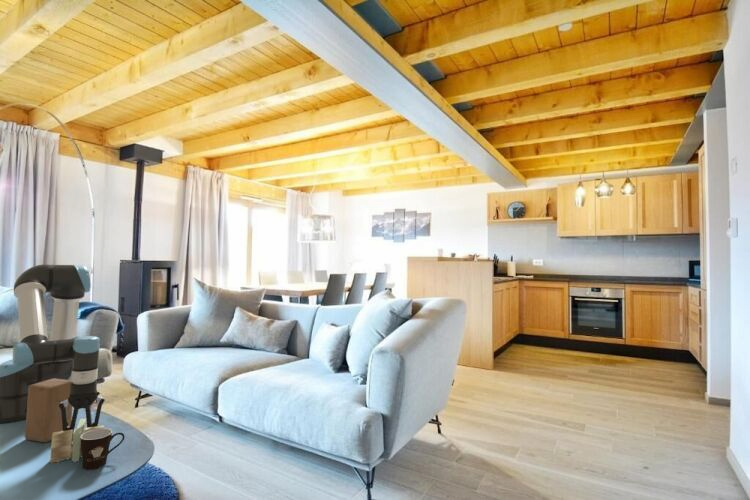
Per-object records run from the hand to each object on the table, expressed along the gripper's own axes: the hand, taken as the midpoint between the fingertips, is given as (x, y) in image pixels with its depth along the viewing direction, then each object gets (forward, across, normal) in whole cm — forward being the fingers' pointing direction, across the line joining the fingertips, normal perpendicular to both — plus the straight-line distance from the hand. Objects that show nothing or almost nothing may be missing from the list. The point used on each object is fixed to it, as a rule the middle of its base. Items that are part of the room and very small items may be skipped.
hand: (79, 448), depth 138 cm
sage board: (+1, 0, -2) cm, 2 cm away
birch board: (+1, 0, -5) cm, 5 cm away
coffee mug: (+1, +7, -14) cm, 16 cm away
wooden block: (+1, -12, +17) cm, 21 cm away
